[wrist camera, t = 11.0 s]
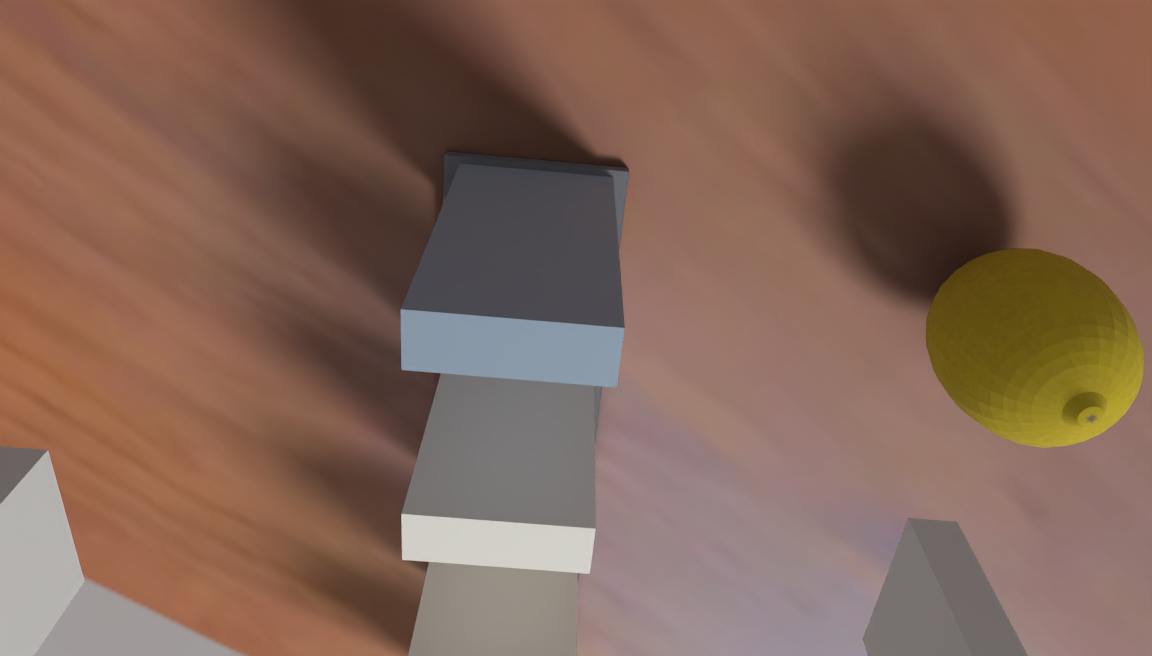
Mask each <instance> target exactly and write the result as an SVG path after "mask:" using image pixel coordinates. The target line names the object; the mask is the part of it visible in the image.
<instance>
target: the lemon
mask: <svg viewBox="0 0 1152 656" xmlns="http://www.w3.org/2000/svg"><path fill="white" fill-rule="evenodd" d="M926 345H927V349H928V353H929V356H930V360H931V363H932V366H933V370H934V372H935V374H936V376H937V378H938V380H939V381H940V383H941V384H942V386H943V387H944V389H945V390H946V391H947V393H948V394H949V396H950V397H951V398H952V400H953V401H954V402H955V403H956V404H957V405H958V407H959V408H960V409H962V410H963V411H964V412H965V413H966V414H967V415H969V416H970V417H971V418H973V419H974V420H975V421H977V422H978V423H980V424H981V425H982V426H984V427H985V428H986V429H988V430H989V431H991V432H993V433H994V434H996V435H998V436H1001V437H1003V438H1006V439H1008V440H1011V441H1014V442H1016V443H1019V444H1024V445H1029V446H1037V447H1056V446H1068V445H1072V444H1075V443H1079V442H1083V441H1086V440H1088V439H1090V438H1092V437H1094V436H1097V435H1099V434H1101V433H1102V432H1104V431H1105V430H1107V429H1108V428H1109V427H1111V426H1112V425H1114V424H1115V423H1116V422H1117V421H1118V420H1119V419H1120V418H1121V417H1122V416H1123V415H1124V414H1125V413H1126V412H1127V410H1128V409H1129V407H1130V406H1131V404H1132V402H1133V401H1134V399H1135V398H1136V396H1137V394H1138V391H1139V388H1140V385H1141V382H1142V378H1143V365H1144V354H1143V348H1142V344H1141V341H1140V338H1139V335H1138V332H1137V330H1136V327H1135V324H1134V322H1133V320H1132V318H1131V316H1130V314H1129V312H1128V311H1127V309H1126V308H1125V306H1124V305H1123V304H1122V303H1121V301H1120V300H1119V299H1118V298H1117V296H1116V295H1115V294H1114V293H1113V292H1112V290H1111V289H1110V288H1109V287H1108V286H1107V285H1106V284H1105V283H1104V282H1103V281H1102V280H1101V279H1100V278H1099V277H1097V276H1096V275H1095V274H1093V273H1092V272H1090V271H1088V270H1087V269H1085V268H1084V267H1082V266H1080V265H1079V264H1077V263H1075V262H1074V261H1072V260H1070V259H1068V258H1066V257H1063V256H1060V255H1057V254H1053V253H1049V252H1046V251H1042V250H1039V249H1022V248H1011V249H1005V250H1000V251H995V252H990V253H987V254H984V255H982V256H980V257H977V258H975V259H973V260H970V261H969V262H967V263H966V264H965V265H963V266H962V267H960V268H959V269H957V270H956V271H955V272H954V273H953V274H952V275H951V276H950V277H949V278H948V279H947V280H946V281H945V282H944V283H943V284H942V286H941V287H940V289H939V291H938V292H937V294H936V295H935V297H934V299H933V301H932V304H931V307H930V310H929V313H928V316H927V322H926Z"/></svg>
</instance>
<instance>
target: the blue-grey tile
mask: <svg viewBox="0 0 1152 656" xmlns="http://www.w3.org/2000/svg"><path fill="white" fill-rule="evenodd" d="M624 328H625V327H624V314H623V300H622V287H621V273H620V260H619V246H618V233H617V219H616V206H615V192H614V179H613V177H606V176H595V175H583V174H572V173H561V172H550V171H539V170H528V169H517V168H505V167H494V166H483V165H472V164H461V163H460V164H459V167H458V169H457V172H456V174H455V176H454V179H453V181H452V184H451V186H450V189H449V191H448V194H447V196H446V199H445V201H444V204H443V206H442V208H441V211H440V213H439V216H438V218H437V221H436V223H435V226H434V228H433V231H432V233H431V236H430V238H429V241H428V243H427V245H426V248H425V250H424V253H423V255H422V258H421V260H420V263H419V265H418V268H417V270H416V273H415V275H414V277H413V280H412V282H411V285H410V287H409V290H408V292H407V295H406V297H405V300H404V302H403V305H402V307H401V370H408V371H420V372H432V373H444V374H457V375H469V376H481V377H493V378H506V379H518V380H530V381H542V382H555V383H567V384H579V385H591V386H604V387H616V388H617V381H618V373H619V366H620V358H621V351H622V343H623V336H624Z"/></svg>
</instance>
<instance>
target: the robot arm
mask: <svg viewBox="0 0 1152 656" xmlns="http://www.w3.org/2000/svg"><path fill="white" fill-rule="evenodd" d="M83 583H84V578H83V574H82V570H81V567H80V563H79V560H78V556H77V552H76V549H75V545H74V542H73V538H72V535H71V531H70V527H69V524H68V520H67V517H66V513H65V510H64V506H63V502H62V499H61V495H60V492H59V488H58V484H57V481H56V477H55V474H54V470H53V467H52V463H51V459H50V456H49V452H48V450H40V449H27V448H15V447H2V446H0V656H34V655H35V653H36V652H37V650H38V649H39V647H40V646H41V645H42V643H43V642H44V640H45V639H46V637H47V636H48V634H49V633H50V631H51V630H52V628H53V627H54V625H55V624H56V622H57V621H58V619H59V618H60V617H61V615H62V614H63V612H64V611H65V609H66V608H67V606H68V605H69V603H70V602H71V600H72V599H73V597H74V596H75V594H76V593H77V591H78V590H79V588H80V587H81V585H82V584H83ZM863 641H864V644H865V647H866V650H867V653H868V656H1028V655H1027V653H1026V651H1025V649H1024V647H1023V646H1022V644H1021V642H1020V640H1019V638H1018V636H1017V634H1016V632H1015V630H1014V629H1013V627H1012V625H1011V623H1010V621H1009V619H1008V617H1007V615H1006V613H1005V612H1004V610H1003V608H1002V606H1001V604H1000V602H999V600H998V598H997V596H996V595H995V593H994V591H993V589H992V587H991V585H990V583H989V581H988V579H987V578H986V576H985V574H984V572H983V570H982V568H981V566H980V564H979V562H978V561H977V559H976V557H975V555H974V553H973V551H972V549H971V547H970V545H969V544H968V542H967V540H966V538H965V536H964V534H963V532H962V530H961V528H960V527H959V525H958V523H957V522H951V521H938V520H926V519H913V518H908V521H907V523H906V526H905V529H904V531H903V534H902V537H901V539H900V542H899V545H898V547H897V550H896V553H895V555H894V558H893V561H892V563H891V566H890V568H889V571H888V574H887V576H886V579H885V582H884V584H883V587H882V590H881V592H880V595H879V598H878V600H877V603H876V606H875V608H874V611H873V614H872V616H871V619H870V621H869V624H868V627H867V629H866V632H865V635H864V637H863Z"/></svg>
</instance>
